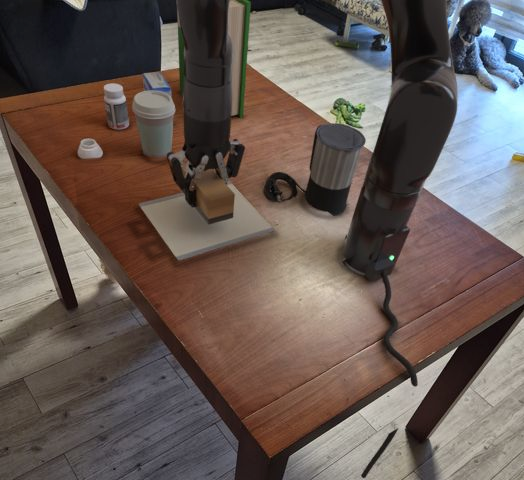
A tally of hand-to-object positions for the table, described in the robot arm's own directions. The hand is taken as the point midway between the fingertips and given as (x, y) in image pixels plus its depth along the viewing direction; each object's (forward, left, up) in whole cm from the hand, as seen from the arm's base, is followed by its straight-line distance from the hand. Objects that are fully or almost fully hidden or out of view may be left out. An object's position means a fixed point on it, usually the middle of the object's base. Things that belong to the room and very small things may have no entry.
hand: (205, 201), depth 86 cm
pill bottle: (+40, +2, -5) cm, 40 cm away
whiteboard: (0, 0, -5) cm, 5 cm away
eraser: (0, 0, 0) cm, 0 cm away
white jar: (+30, +12, -5) cm, 32 cm away
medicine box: (+40, -8, -5) cm, 41 cm away
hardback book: (+42, -23, -5) cm, 48 cm away
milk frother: (-2, -22, -5) cm, 23 cm away
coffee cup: (+25, -1, -5) cm, 25 cm away
